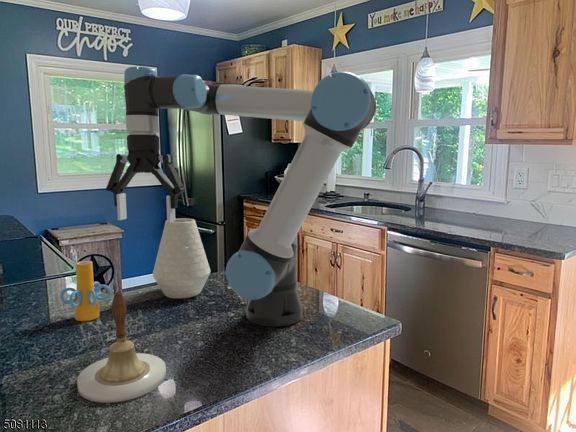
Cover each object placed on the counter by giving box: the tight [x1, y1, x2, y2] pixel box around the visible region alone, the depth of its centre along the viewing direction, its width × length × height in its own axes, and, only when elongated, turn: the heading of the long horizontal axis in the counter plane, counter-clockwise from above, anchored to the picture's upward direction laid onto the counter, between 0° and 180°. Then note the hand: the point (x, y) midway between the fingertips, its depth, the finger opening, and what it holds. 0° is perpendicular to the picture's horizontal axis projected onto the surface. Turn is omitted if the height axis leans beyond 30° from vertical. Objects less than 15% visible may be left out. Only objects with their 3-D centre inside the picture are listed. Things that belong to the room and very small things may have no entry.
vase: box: [152, 217, 211, 300], centre depth 135 cm, size 18×17×23 cm
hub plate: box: [76, 352, 167, 404], centre depth 85 cm, size 16×16×2 cm
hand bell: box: [100, 291, 145, 382], centre depth 83 cm, size 8×8×16 cm
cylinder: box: [59, 260, 112, 322], centre depth 115 cm, size 12×10×15 cm
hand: (146, 220), depth 109 cm, fingers open, 13 cm apart
